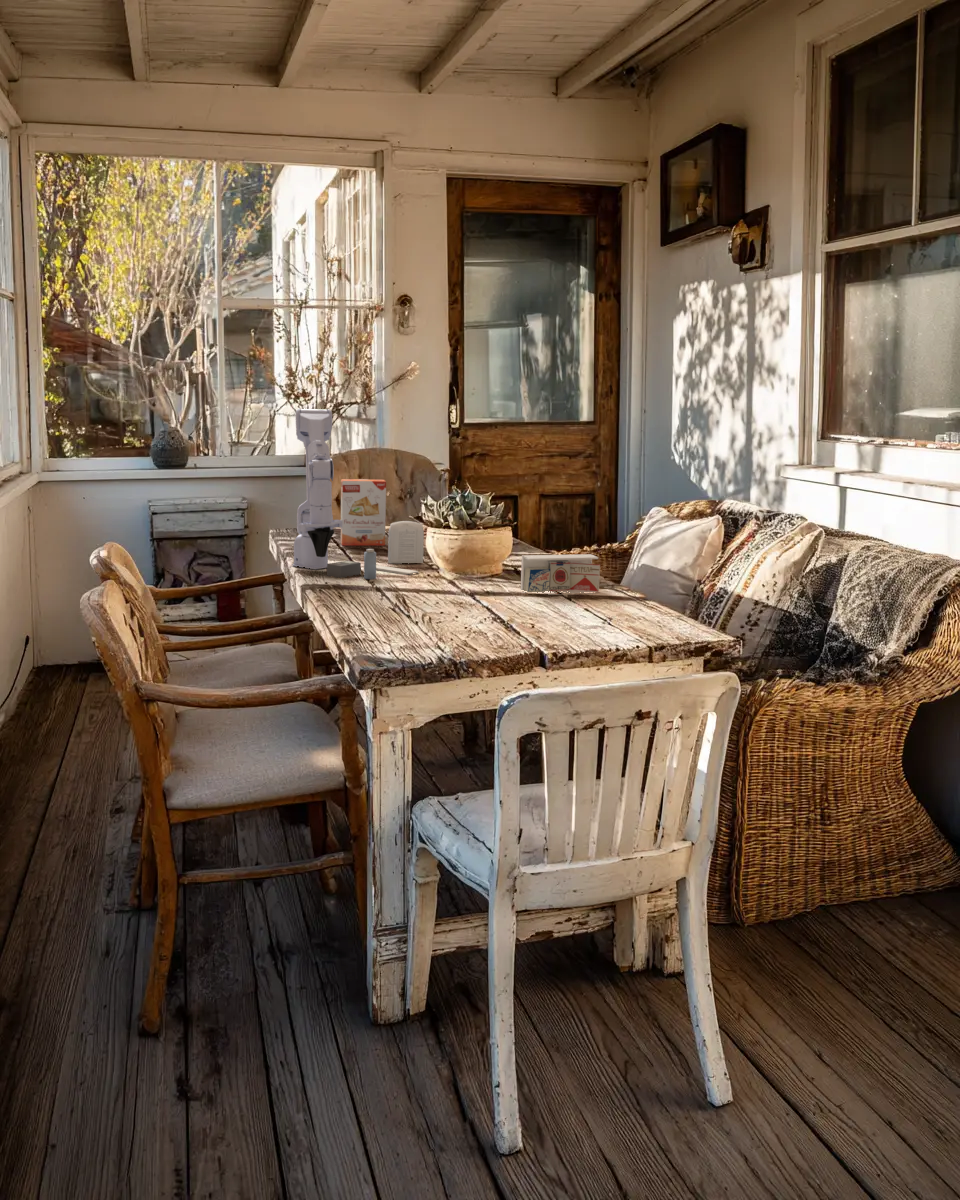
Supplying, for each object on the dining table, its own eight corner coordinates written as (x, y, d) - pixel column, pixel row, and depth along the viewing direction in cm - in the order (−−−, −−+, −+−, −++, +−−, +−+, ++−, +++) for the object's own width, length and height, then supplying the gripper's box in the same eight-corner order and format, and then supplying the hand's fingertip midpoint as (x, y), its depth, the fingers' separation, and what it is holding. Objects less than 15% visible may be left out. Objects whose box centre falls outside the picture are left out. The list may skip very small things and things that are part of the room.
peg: (361, 578, 315) (361, 549, 313) (369, 576, 317) (369, 548, 316) (370, 579, 313) (370, 550, 312) (378, 578, 316) (378, 549, 314)
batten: (365, 568, 331) (365, 566, 331) (375, 566, 334) (375, 564, 334) (409, 575, 321) (409, 573, 321) (418, 573, 324) (418, 571, 324)
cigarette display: (527, 595, 296) (528, 558, 295) (520, 591, 302) (521, 555, 300) (601, 593, 301) (603, 557, 300) (594, 589, 307) (595, 554, 305)
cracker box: (342, 546, 372) (342, 480, 368) (340, 543, 378) (340, 478, 374) (386, 546, 375) (386, 480, 371) (383, 543, 380) (384, 478, 377)
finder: (327, 576, 318) (327, 563, 317) (347, 573, 324) (347, 560, 323) (340, 578, 315) (340, 565, 314) (360, 575, 321) (360, 562, 320)
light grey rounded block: (422, 562, 344) (423, 520, 342) (424, 564, 340) (424, 522, 338) (387, 562, 343) (387, 520, 340) (388, 564, 339) (388, 521, 336)
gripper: (312, 508, 301) (312, 561, 303) (350, 504, 312) (350, 555, 314) (292, 506, 305) (292, 558, 307) (331, 502, 316) (331, 552, 319)
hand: (320, 556), depth 311 cm, fingers closed
